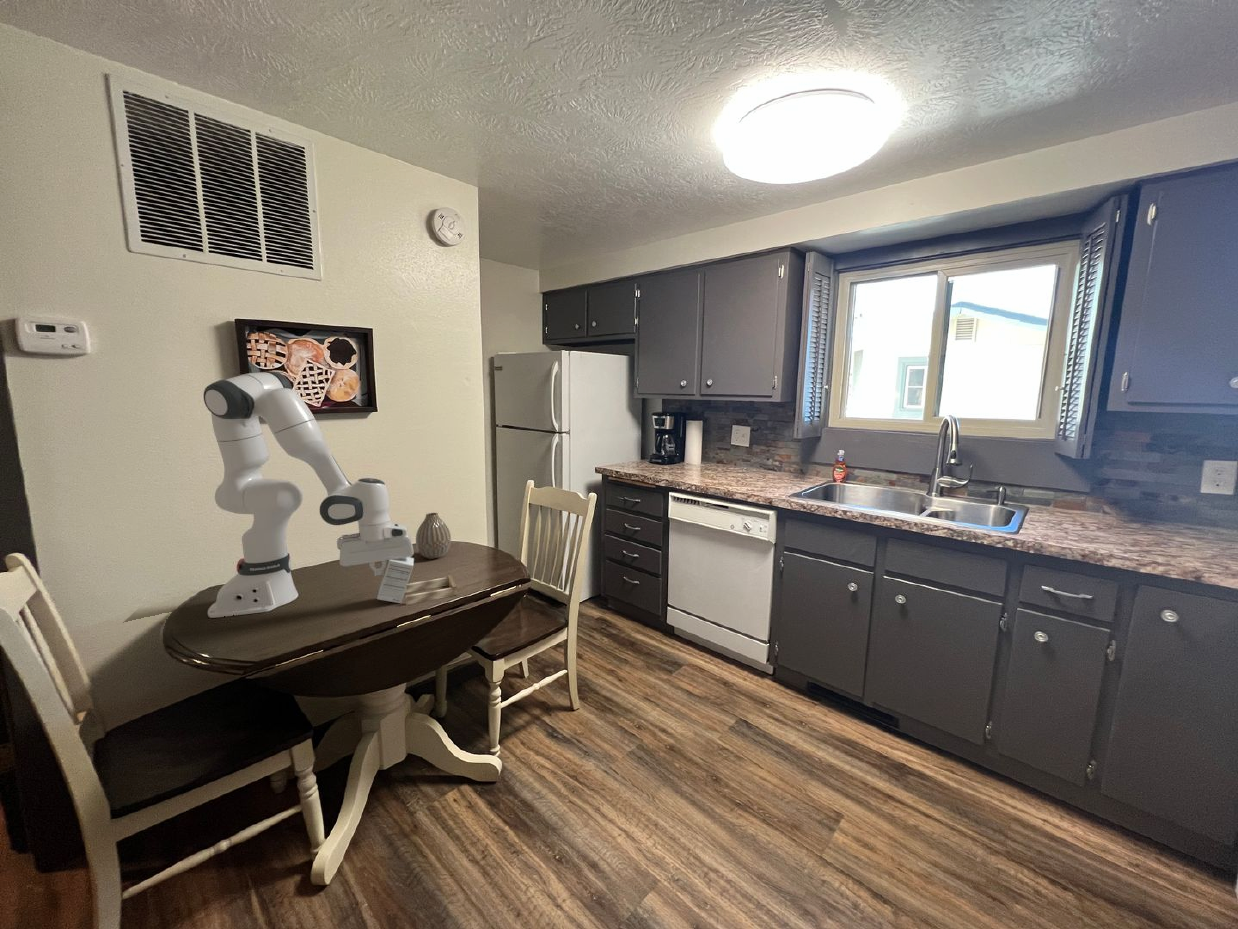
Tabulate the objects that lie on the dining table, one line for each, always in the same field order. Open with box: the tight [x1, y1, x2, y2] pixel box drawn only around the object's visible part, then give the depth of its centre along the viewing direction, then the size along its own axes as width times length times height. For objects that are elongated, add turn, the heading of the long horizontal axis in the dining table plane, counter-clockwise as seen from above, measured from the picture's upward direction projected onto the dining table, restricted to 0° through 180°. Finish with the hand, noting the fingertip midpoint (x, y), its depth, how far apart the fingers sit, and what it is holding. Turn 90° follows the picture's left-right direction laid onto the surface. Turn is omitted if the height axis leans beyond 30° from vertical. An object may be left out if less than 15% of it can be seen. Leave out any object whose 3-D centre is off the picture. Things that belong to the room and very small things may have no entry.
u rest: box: [404, 574, 458, 606], centre depth 158 cm, size 15×11×3 cm
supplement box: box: [376, 557, 415, 604], centre depth 153 cm, size 7×7×13 cm
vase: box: [415, 512, 452, 560], centre depth 194 cm, size 13×13×18 cm
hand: (379, 574), depth 150 cm, fingers closed
